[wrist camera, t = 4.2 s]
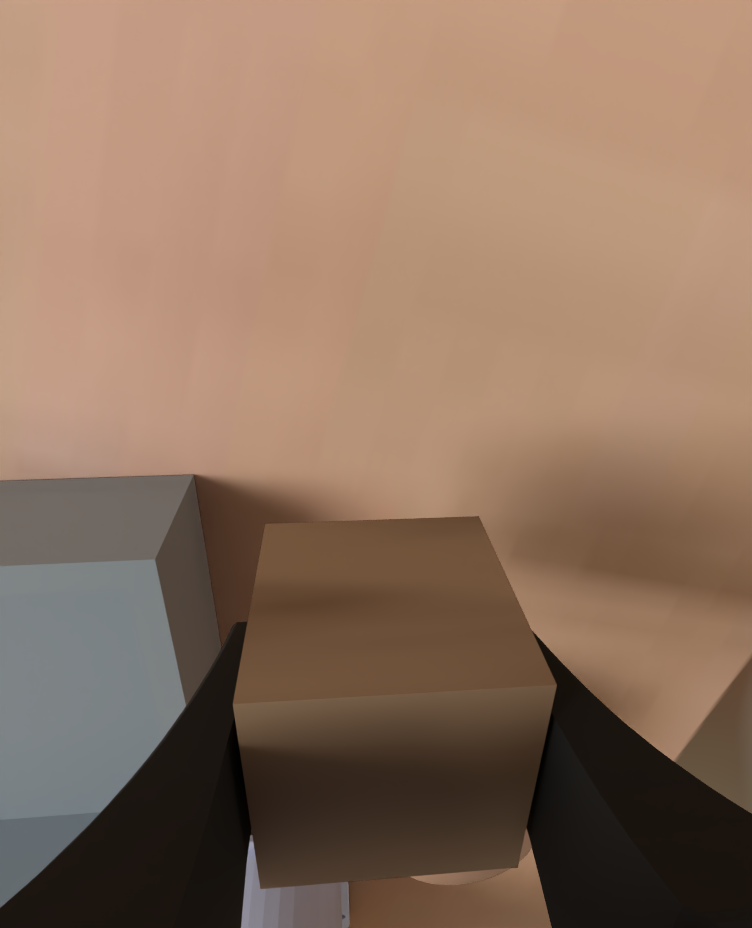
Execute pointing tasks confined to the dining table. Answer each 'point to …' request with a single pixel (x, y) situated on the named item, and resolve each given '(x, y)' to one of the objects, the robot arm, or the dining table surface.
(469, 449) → the dining table surface
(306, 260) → the dining table surface
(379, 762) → the walnut cube
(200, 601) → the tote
